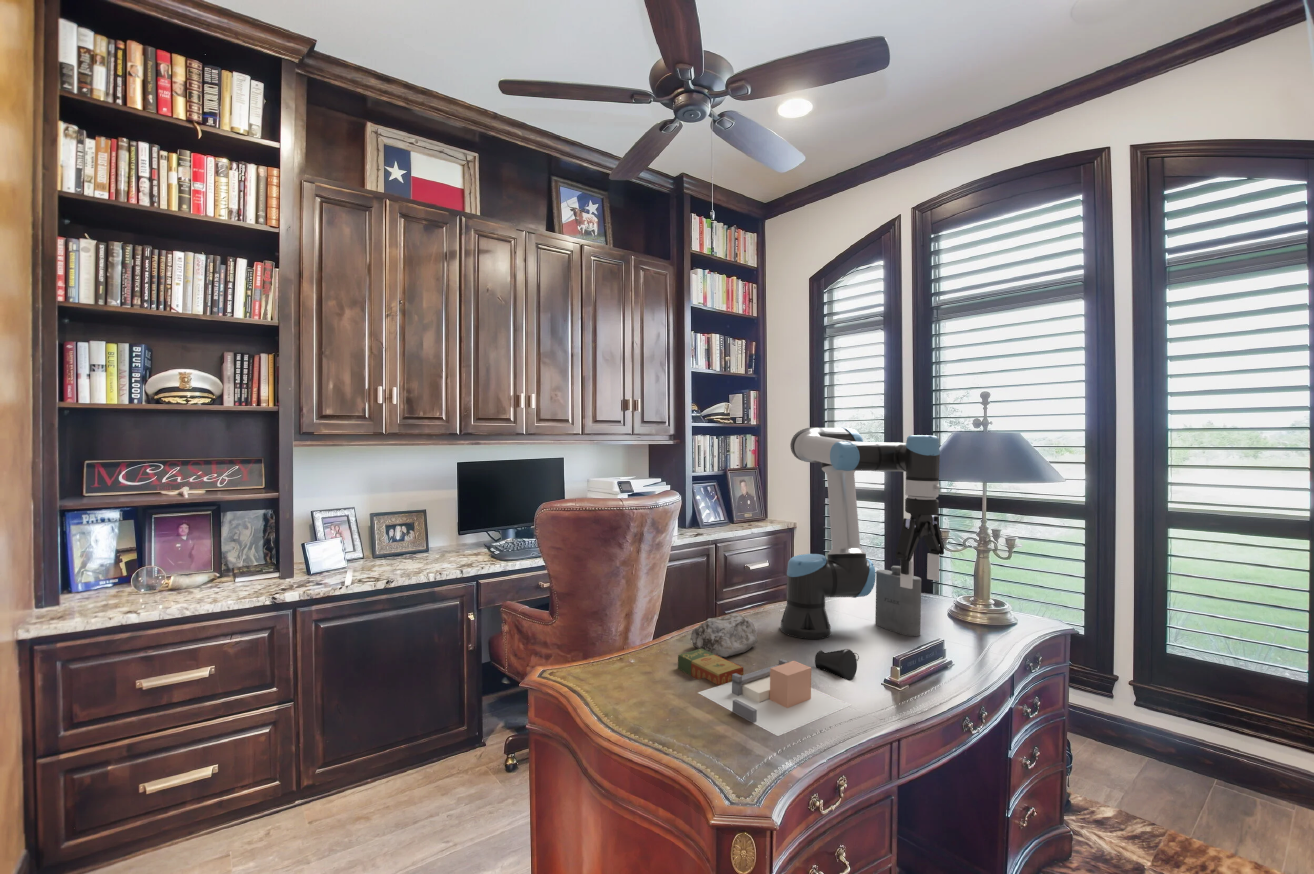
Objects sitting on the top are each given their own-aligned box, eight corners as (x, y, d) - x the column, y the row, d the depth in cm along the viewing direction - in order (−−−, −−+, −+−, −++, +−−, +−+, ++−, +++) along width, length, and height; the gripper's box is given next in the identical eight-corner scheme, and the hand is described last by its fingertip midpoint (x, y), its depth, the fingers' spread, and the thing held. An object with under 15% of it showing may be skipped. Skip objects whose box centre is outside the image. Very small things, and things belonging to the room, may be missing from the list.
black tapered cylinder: (841, 683, 144) (812, 677, 150) (880, 675, 155) (851, 670, 162) (840, 650, 145) (811, 646, 152) (878, 645, 157) (849, 641, 163)
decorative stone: (734, 629, 180) (736, 599, 177) (767, 651, 170) (770, 620, 167) (685, 651, 168) (687, 620, 166) (718, 676, 158) (720, 643, 155)
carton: (718, 692, 139) (718, 673, 139) (676, 669, 152) (676, 653, 152) (743, 683, 144) (744, 666, 144) (701, 663, 157) (701, 646, 157)
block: (769, 699, 132) (770, 668, 132) (793, 690, 136) (793, 660, 137) (787, 707, 128) (787, 675, 128) (810, 698, 132) (811, 667, 133)
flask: (870, 624, 192) (871, 563, 192) (881, 621, 195) (882, 561, 195) (912, 638, 179) (913, 572, 179) (923, 634, 183) (924, 570, 183)
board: (697, 697, 135) (697, 674, 135) (769, 674, 149) (769, 652, 149) (777, 742, 115) (778, 714, 115) (851, 710, 130) (852, 685, 130)
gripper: (911, 501, 135) (909, 594, 135) (959, 496, 151) (958, 579, 151) (881, 498, 141) (879, 587, 141) (930, 494, 157) (928, 573, 157)
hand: (920, 583), depth 146 cm, fingers open, 13 cm apart
